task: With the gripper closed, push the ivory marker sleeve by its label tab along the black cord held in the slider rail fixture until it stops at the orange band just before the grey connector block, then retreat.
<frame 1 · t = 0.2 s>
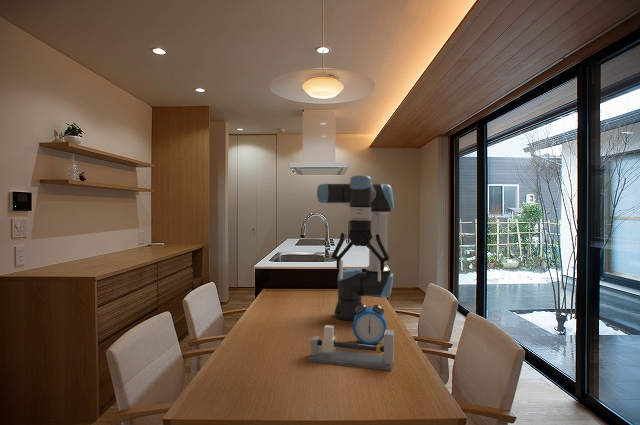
hand: (359, 279, 132), 28 cm above the table, fingers open, 13 cm apart
slider rail fixture: (351, 360, 130), on the table
marker sleeve: (329, 338, 132), point 7 cm above the table, slide at 0.0 cm
alarm clock: (369, 343, 148), on the table
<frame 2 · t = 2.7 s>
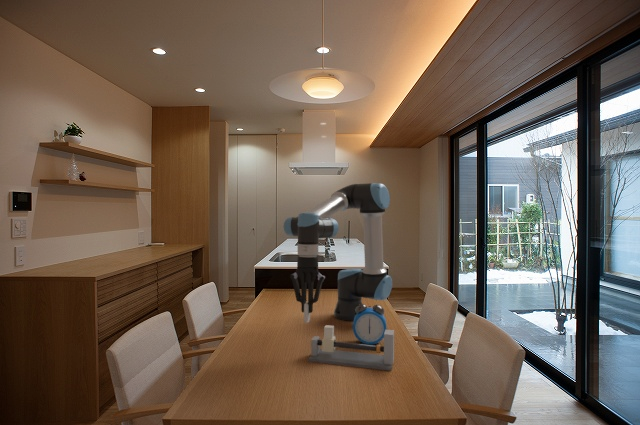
hand: (306, 321, 134), 12 cm above the table, fingers closed
nothing on the table moved.
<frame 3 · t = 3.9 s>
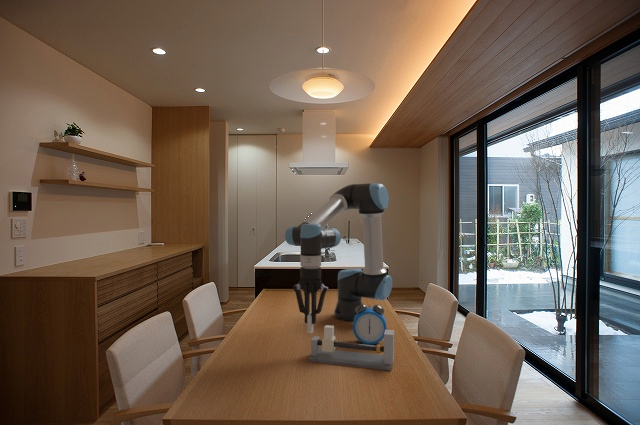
hand: (310, 332, 134), 8 cm above the table, fingers closed
nothing on the table moved.
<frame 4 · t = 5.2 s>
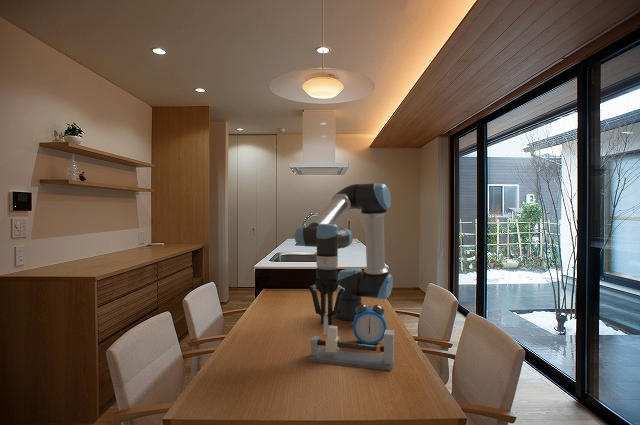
hand: (326, 333, 132), 8 cm above the table, fingers closed
marker sleeve: (332, 338, 132), point 7 cm above the table, slide at 1.3 cm, touching gripper
everything else where it was.
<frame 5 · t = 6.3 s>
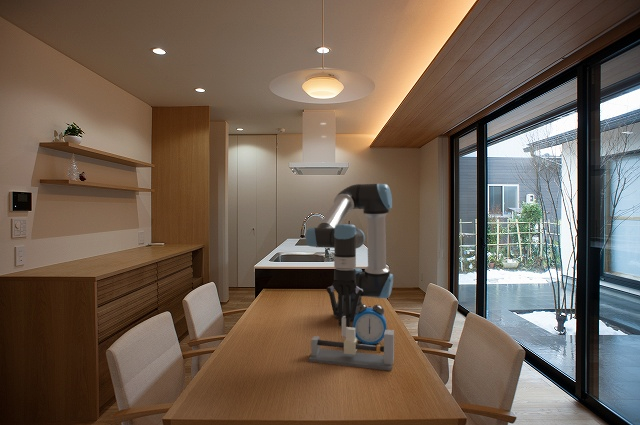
hand: (344, 335, 131), 8 cm above the table, fingers closed
marker sleeve: (350, 340, 130), point 7 cm above the table, slide at 7.8 cm, touching gripper
everything else where it was.
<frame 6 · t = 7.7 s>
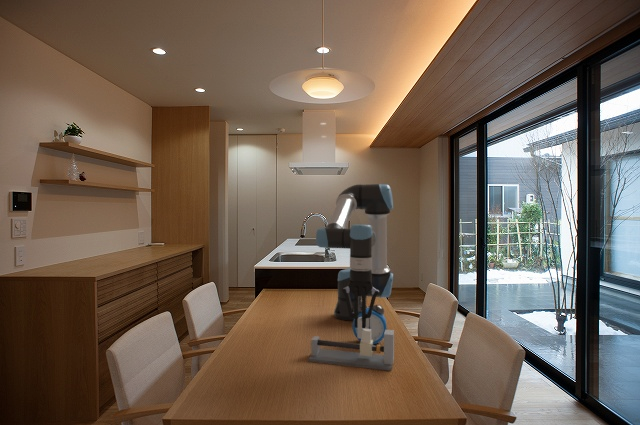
hand: (360, 337, 129), 8 cm above the table, fingers closed
marker sleeve: (366, 341, 129), point 7 cm above the table, slide at 13.3 cm, touching gripper
everything else where it was.
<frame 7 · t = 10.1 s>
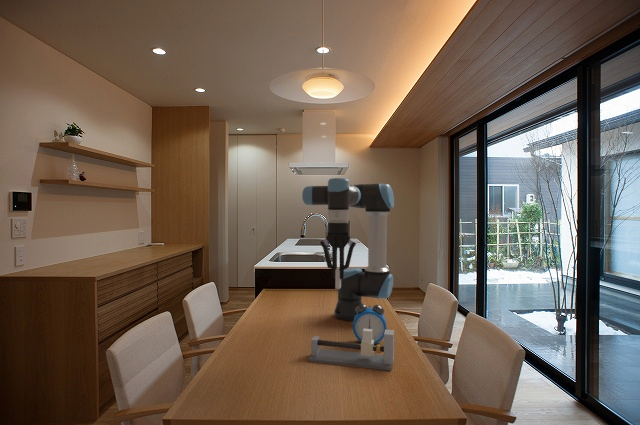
hand: (338, 287, 133), 25 cm above the table, fingers closed
marker sleeve: (367, 341, 129), point 7 cm above the table, slide at 13.7 cm
everything else where it was.
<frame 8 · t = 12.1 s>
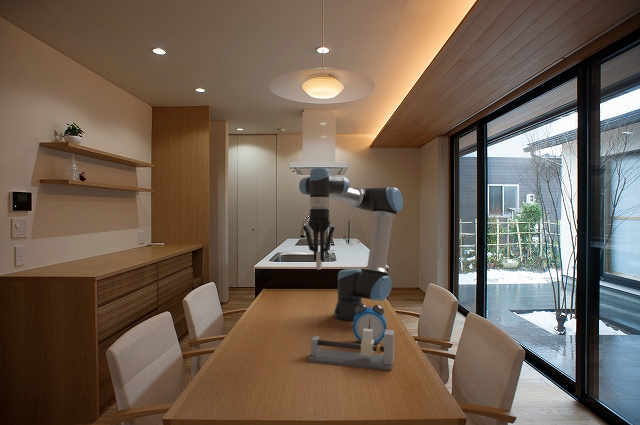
hand: (319, 268, 145), 29 cm above the table, fingers closed
nothing on the table moved.
at the end: marker sleeve slide at 13.7 cm; the gripper is holding nothing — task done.
